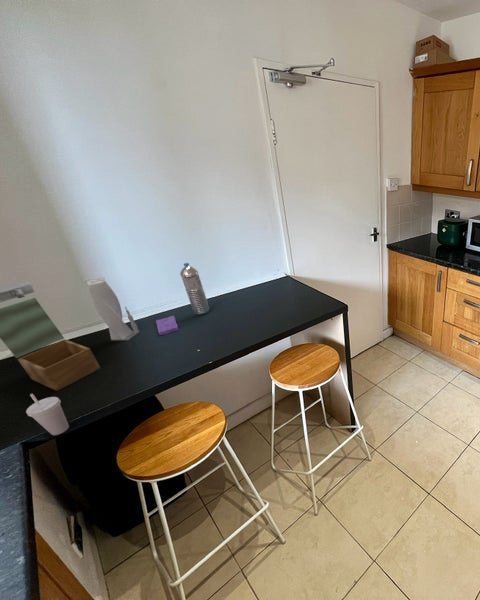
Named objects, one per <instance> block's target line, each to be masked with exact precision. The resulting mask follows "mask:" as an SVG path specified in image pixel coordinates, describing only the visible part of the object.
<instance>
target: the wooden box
mask: <svg viewBox="0 0 480 600" xmlns="http://www.w3.org/2000/svg"><path fill="white" fill-rule="evenodd" d="M17 361H18V362H19V363H20V365H21V366H22V369H24V371H25V372H26V373H27V375H28V377H29V378H30V380H32V381H34V382H36V383H39V384H40V385H42V386H44V387H48V388H50V389H51V390H54V391H56V392H59V391H60V390H62V389H63V388H65V387H68V386H69V385H71V384H73V383H75V382H77V381H79V380H81V379H83V378H85V377H87V376H88V375H90V374H93V373H94V372H97V371H99V370H100V369H101V368H102V367H101V366H100V364H99V361H98V360H97V359H96V357H95V355H94V353H93V351H92V350H91V348H90V347H87V346H84V345H82V344H78V343H76V342H73V341H70V340H68V339H65V338H64V339H61V340H59V341H56V342H54V343H52V344H49V345H47V346H44V347H42V348H39V349H37V350H35V351H32V352H30V353H27V354H25V355H23V356H20V357H18V358H17Z"/></svg>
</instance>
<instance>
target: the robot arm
mask: <svg viewBox="0 0 480 600" xmlns="http://www.w3.org/2000/svg"><path fill="white" fill-rule="evenodd" d="M35 291H36V289H35V287H34V286H33V284H32V283H31V282H30V281H27V280H23V281H19V282H17V283H15V284H14V285H10V286H6V287H3V288H0V303H3V302H6V301H9V300H13V299H16V298H17V299H22V298H25V297H26V295H30V294H32V293H35Z"/></svg>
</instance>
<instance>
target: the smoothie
mask: <svg viewBox="0 0 480 600" xmlns="http://www.w3.org/2000/svg"><path fill="white" fill-rule="evenodd" d="M29 396H30V397H31V399H32V400H33V401H34V403H32V404H31V405H29V407H27V408H26V411H25V413H26V414H27V417H31V418H32V419H34V421H36V422H37V423H38V424H39V425H40V426H42V428H43V429H45V430H46V431H47V432H48V433H49V434H50V435H52V436H58V435H60V434H64V433H65V432H66V431H67V430H68V429H69V428H70V425H69V422H68V420H67V417H66V415H65V412H64V410H63V408H62V405H61V403H62V402H61V399H60V398H59V397H57V396H50V397H45V398H42V399H40V400H38V399H37V397H36V396H35V395H34V394H33V393H30V394H29Z"/></svg>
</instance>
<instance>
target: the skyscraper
mask: <svg viewBox="0 0 480 600" xmlns="http://www.w3.org/2000/svg"><path fill="white" fill-rule="evenodd" d="M82 283H83V284H85V285H86V287H87V290H88V294H89V299H90V300H91V303H92V305H93V308H94V309H95V311H96V313H97V314H98V315H99V317H100V318H101V320H102V321H103V322H104V323H105V324H106V325H107V326H108V332H109V336H110V340H111V342H112V341H113V342H116V341H117V342H118V341H120V342H121V341H125V342H126V341H128V342H129V341H130V340H132V339H133V338H134V337H135V336H137V335H139V334H140V333H141V330H139V327H138V325H137V323H136V322H135V319H134V318H133V317H134V316H133V315H132V314H130V311H129V310H128V308H127V306H124V309H125V312H126V314H127V316H126V317H127V319H128V321H129V323H130V326H131V328H132V329H131V328H130V327H129V326H128V325H127V324H126V323H125V322H124V321H123V311H122V307H121V303H120V300H119V298H118V296H117V294H116V293H115V291H114V290H113V289H112V288H111V286H110V285H109V284H108V283H107V281H106V280H105V277H104V276H98V277H97V276H96V277H90V278H85V279H83V280H82Z"/></svg>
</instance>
